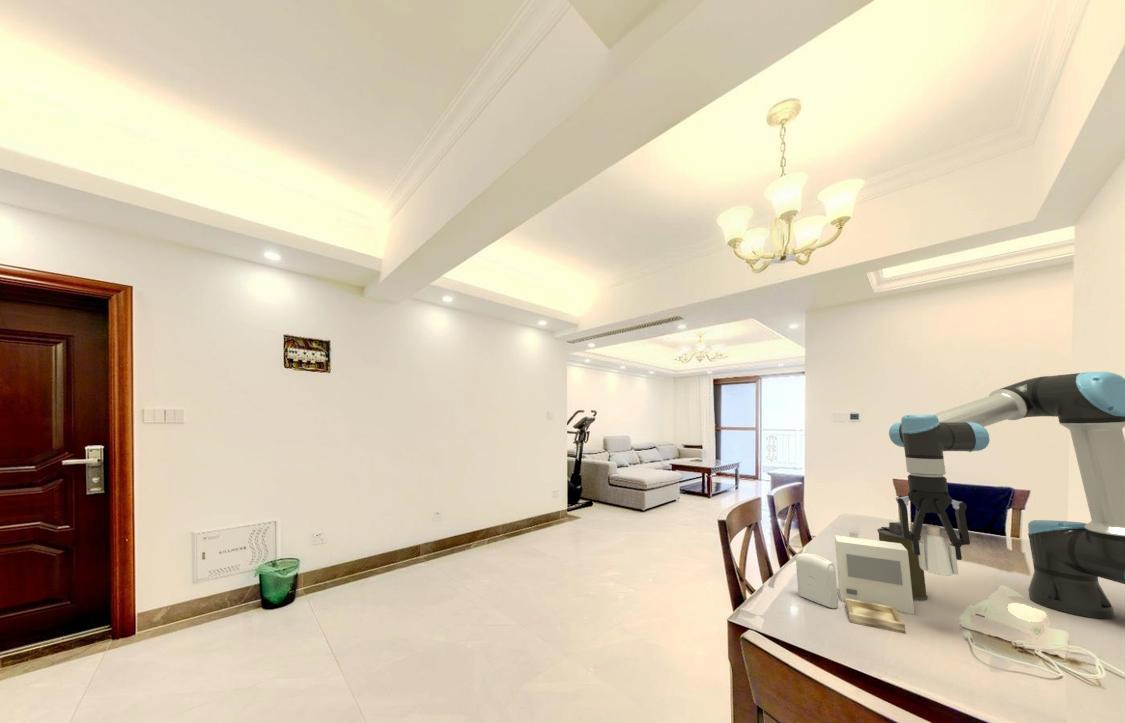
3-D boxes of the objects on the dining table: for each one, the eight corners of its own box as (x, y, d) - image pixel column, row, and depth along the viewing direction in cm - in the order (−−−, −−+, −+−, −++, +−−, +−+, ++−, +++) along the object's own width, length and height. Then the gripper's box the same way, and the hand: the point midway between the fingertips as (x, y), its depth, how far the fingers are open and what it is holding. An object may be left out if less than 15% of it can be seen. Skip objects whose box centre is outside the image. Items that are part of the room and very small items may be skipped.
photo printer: (795, 595, 119) (792, 550, 121) (805, 593, 121) (802, 549, 123) (831, 610, 110) (828, 561, 112) (841, 607, 112) (837, 559, 114)
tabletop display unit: (906, 602, 116) (900, 543, 118) (914, 615, 108) (908, 551, 110) (838, 590, 123) (834, 534, 126) (842, 601, 116) (837, 541, 118)
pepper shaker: (954, 577, 98) (947, 529, 100) (924, 572, 101) (918, 526, 103) (953, 571, 102) (946, 525, 104) (924, 566, 106) (918, 522, 107)
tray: (895, 615, 108) (894, 607, 108) (905, 633, 98) (904, 624, 98) (845, 605, 113) (844, 598, 113) (850, 622, 103) (849, 613, 104)
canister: (937, 601, 117) (929, 528, 120) (900, 600, 117) (893, 527, 120) (906, 586, 128) (900, 519, 131) (873, 585, 128) (867, 518, 131)
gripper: (968, 475, 104) (982, 572, 100) (879, 471, 113) (889, 560, 109) (980, 479, 97) (996, 582, 94) (884, 474, 106) (895, 569, 103)
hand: (938, 570), depth 102 cm, fingers closed on pepper shaker, 5 cm apart
